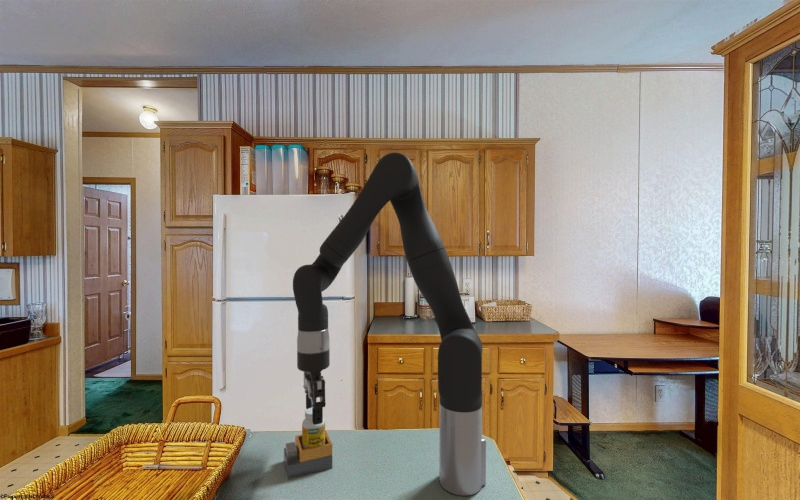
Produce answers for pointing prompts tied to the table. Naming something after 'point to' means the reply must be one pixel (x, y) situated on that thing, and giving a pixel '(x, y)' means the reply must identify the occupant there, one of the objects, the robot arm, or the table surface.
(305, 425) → the supplement bottle
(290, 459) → the orange open box frame
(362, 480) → the table surface
